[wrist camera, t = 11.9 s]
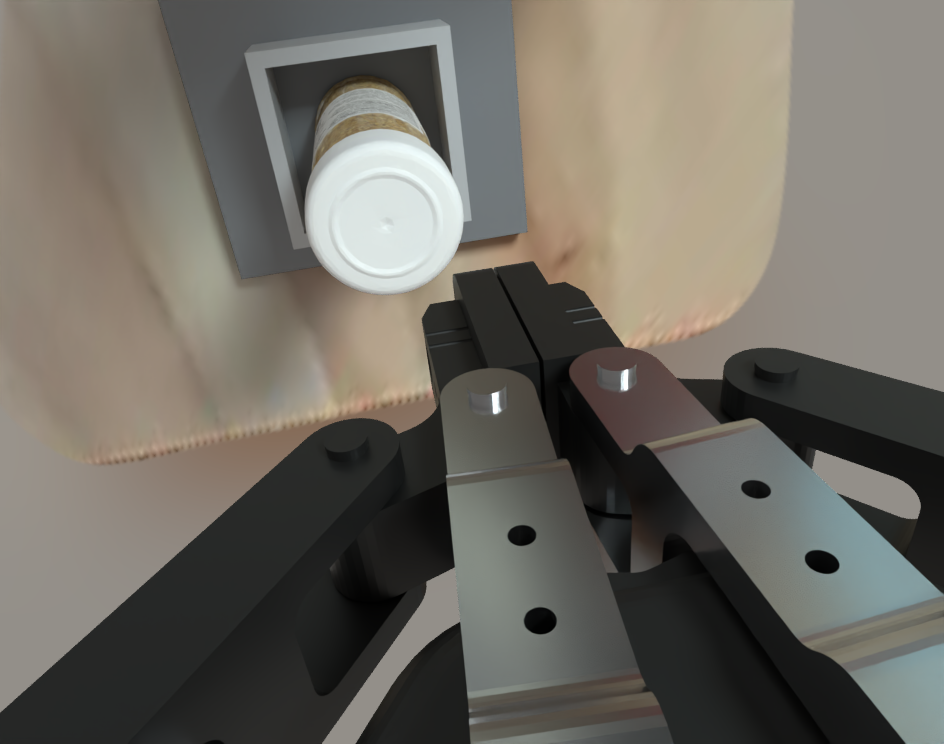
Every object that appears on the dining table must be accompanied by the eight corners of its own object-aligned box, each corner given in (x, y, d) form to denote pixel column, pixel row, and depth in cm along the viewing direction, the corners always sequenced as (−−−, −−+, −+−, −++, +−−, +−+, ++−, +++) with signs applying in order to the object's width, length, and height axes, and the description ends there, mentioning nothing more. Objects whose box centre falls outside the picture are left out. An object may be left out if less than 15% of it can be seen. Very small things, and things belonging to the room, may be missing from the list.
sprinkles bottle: (401, 190, 33) (438, 315, 22) (302, 162, 32) (287, 280, 20) (430, 90, 31) (488, 170, 20) (326, 56, 30) (324, 120, 18)
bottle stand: (162, -5, 29) (139, 1, 25) (502, -49, 30) (525, -49, 26) (243, 271, 35) (234, 305, 31) (522, 225, 36) (542, 253, 33)
